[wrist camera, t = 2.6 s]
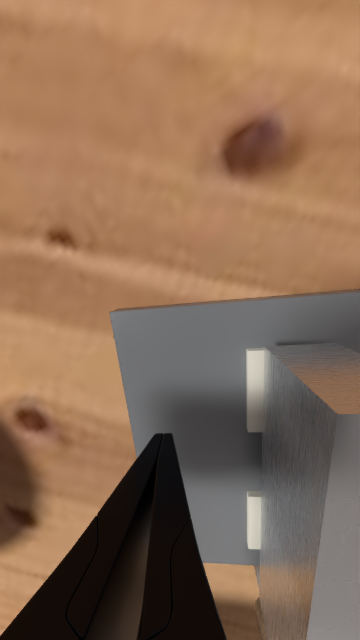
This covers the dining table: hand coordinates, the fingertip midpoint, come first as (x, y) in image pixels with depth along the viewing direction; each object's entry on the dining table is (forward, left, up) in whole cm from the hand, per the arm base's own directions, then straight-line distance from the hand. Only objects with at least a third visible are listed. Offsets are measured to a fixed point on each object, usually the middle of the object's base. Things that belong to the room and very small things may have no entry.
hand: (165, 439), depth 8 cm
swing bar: (-7, -6, -1) cm, 9 cm away
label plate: (-6, -6, -3) cm, 9 cm away
